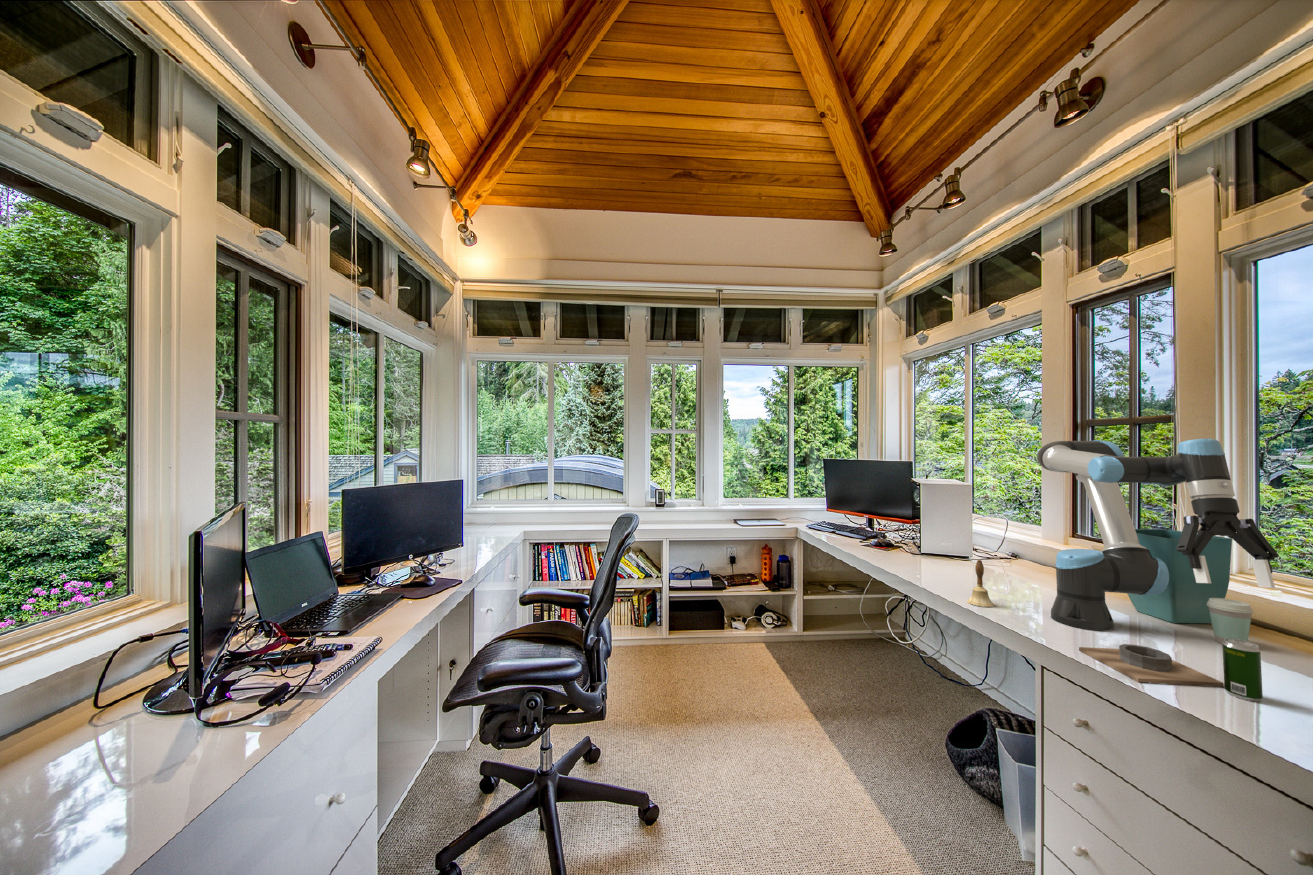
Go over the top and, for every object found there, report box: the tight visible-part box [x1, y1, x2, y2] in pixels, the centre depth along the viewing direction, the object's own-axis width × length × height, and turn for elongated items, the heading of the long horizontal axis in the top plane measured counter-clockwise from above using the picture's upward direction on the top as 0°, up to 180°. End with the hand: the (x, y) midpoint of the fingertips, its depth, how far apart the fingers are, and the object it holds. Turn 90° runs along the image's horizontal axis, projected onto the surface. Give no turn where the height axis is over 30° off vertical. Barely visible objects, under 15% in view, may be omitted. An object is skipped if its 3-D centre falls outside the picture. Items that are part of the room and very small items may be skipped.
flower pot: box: [1126, 528, 1233, 624], centre depth 155 cm, size 20×20×28 cm
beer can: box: [1221, 638, 1264, 702], centre depth 104 cm, size 5×5×12 cm
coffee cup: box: [1206, 598, 1254, 644], centre depth 133 cm, size 8×8×12 cm
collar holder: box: [1078, 643, 1224, 688], centre depth 118 cm, size 18×18×4 cm
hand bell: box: [966, 559, 995, 608], centre depth 168 cm, size 8×8×16 cm
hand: (1235, 585), depth 111 cm, fingers open, 13 cm apart
